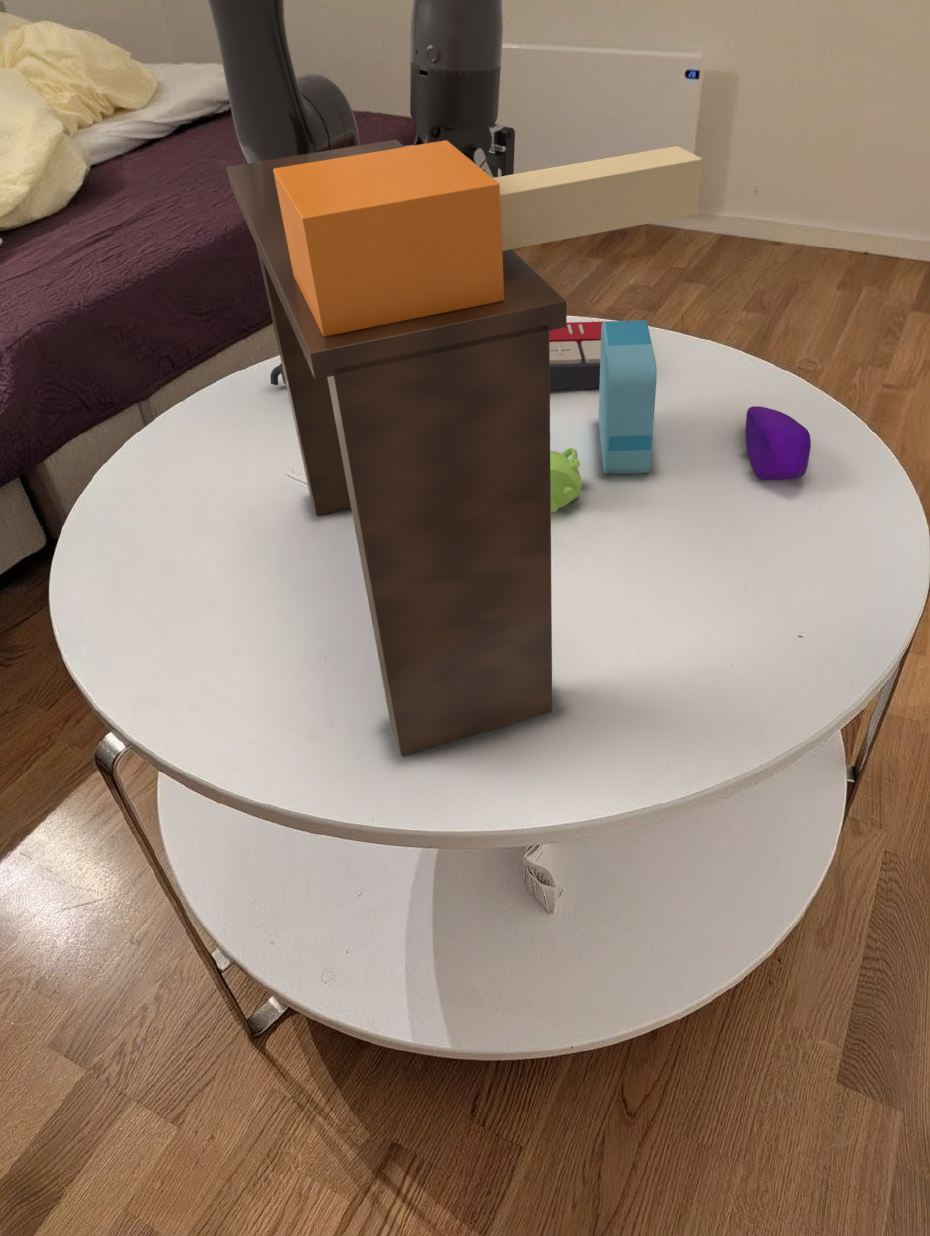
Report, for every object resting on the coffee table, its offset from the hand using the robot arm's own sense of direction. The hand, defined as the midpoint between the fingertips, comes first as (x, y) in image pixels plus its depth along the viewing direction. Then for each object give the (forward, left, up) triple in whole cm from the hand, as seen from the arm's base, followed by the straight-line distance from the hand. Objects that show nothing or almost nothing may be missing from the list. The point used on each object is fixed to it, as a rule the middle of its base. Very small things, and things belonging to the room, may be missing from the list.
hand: (449, 257), depth 86 cm
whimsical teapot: (+13, -7, -21) cm, 25 cm away
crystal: (+31, +9, -21) cm, 38 cm away
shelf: (+7, -24, -20) cm, 32 cm away
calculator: (+3, +19, -21) cm, 28 cm away
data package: (+16, +5, -21) cm, 27 cm away
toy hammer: (+19, -28, +12) cm, 36 cm away
